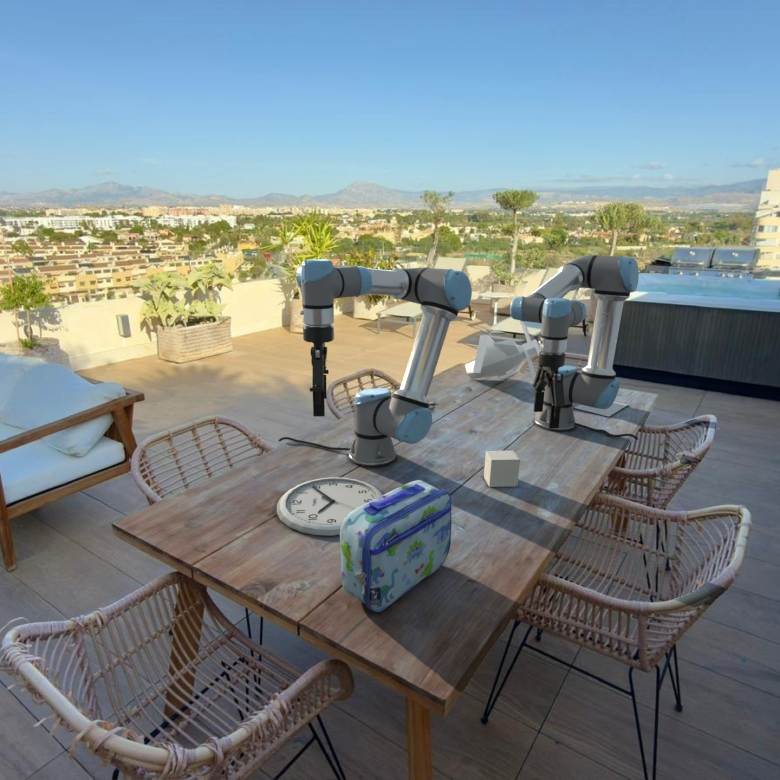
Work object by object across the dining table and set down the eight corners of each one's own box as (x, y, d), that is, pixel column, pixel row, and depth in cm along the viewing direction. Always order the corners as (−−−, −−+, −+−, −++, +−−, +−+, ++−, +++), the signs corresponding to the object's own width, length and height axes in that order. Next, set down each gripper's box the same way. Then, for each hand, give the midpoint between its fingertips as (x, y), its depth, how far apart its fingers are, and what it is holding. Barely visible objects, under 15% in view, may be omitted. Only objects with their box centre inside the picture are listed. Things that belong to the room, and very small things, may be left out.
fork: (420, 411, 216) (420, 406, 216) (430, 400, 230) (431, 395, 230) (426, 412, 215) (426, 407, 215) (436, 401, 230) (436, 396, 229)
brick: (510, 476, 161) (513, 450, 159) (517, 486, 155) (520, 459, 153) (483, 477, 161) (485, 450, 158) (489, 487, 154) (491, 459, 152)
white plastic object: (486, 420, 263) (466, 398, 238) (467, 347, 285) (447, 319, 261) (558, 397, 251) (544, 370, 226) (532, 322, 273) (517, 290, 248)
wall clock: (392, 527, 129) (268, 531, 127) (391, 533, 130) (269, 537, 127) (383, 473, 158) (282, 475, 155) (383, 478, 158) (282, 480, 156)
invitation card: (608, 416, 214) (573, 407, 224) (608, 416, 214) (573, 408, 224) (628, 404, 229) (594, 396, 238) (628, 405, 229) (594, 397, 238)
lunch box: (369, 626, 100) (370, 530, 93) (334, 598, 107) (332, 507, 101) (455, 567, 117) (460, 483, 111) (419, 547, 124) (423, 467, 118)
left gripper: (306, 316, 139) (308, 392, 145) (298, 334, 115) (301, 424, 122) (334, 316, 140) (335, 391, 146) (332, 334, 116) (334, 424, 122)
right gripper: (526, 342, 165) (521, 405, 171) (555, 363, 141) (547, 435, 148) (549, 341, 165) (543, 405, 172) (582, 363, 141) (573, 435, 148)
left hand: (320, 406), depth 134 cm, fingers open, 13 cm apart
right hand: (545, 419), depth 160 cm, fingers open, 13 cm apart
